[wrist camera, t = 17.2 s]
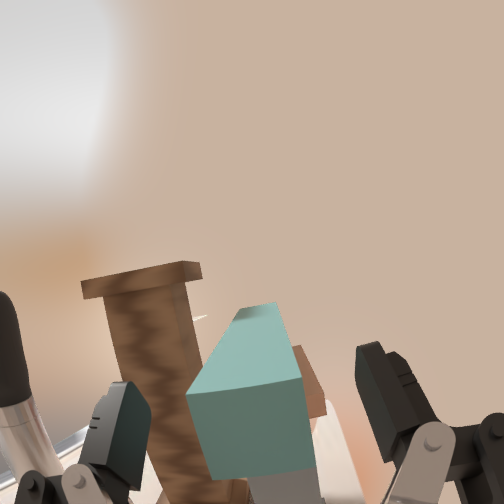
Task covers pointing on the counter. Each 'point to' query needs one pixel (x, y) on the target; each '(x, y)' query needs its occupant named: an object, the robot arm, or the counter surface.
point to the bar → (252, 401)
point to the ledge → (302, 481)
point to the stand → (164, 374)
